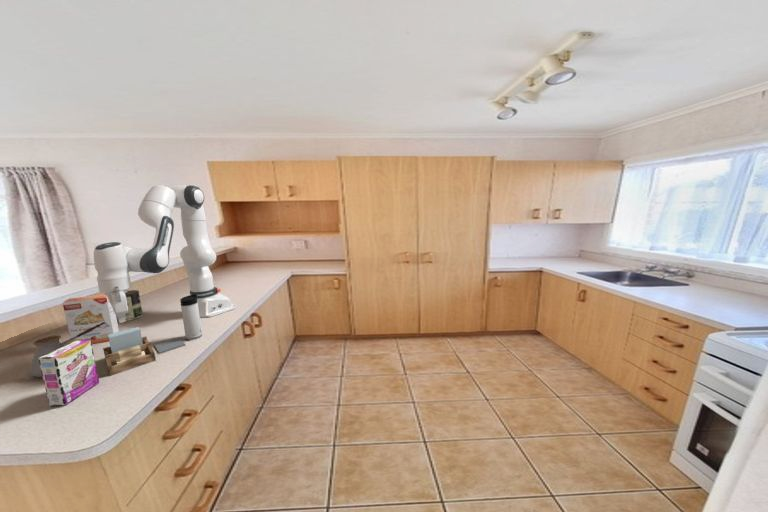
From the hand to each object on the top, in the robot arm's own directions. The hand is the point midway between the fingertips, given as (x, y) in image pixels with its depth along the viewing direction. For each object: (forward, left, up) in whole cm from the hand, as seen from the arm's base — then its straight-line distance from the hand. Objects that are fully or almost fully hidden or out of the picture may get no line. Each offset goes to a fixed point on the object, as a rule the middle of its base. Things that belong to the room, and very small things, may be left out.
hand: (120, 318), depth 106 cm
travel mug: (-23, 0, -17) cm, 28 cm away
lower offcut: (0, +8, -17) cm, 19 cm away
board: (0, 0, -17) cm, 17 cm away
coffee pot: (+14, -8, -17) cm, 23 cm away
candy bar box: (+14, +16, -17) cm, 28 cm away
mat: (-13, +1, -17) cm, 21 cm away
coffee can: (-7, -53, -17) cm, 56 cm away
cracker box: (+7, -29, -17) cm, 34 cm away
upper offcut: (0, +8, -14) cm, 16 cm away
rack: (0, +3, -17) cm, 17 cm away
